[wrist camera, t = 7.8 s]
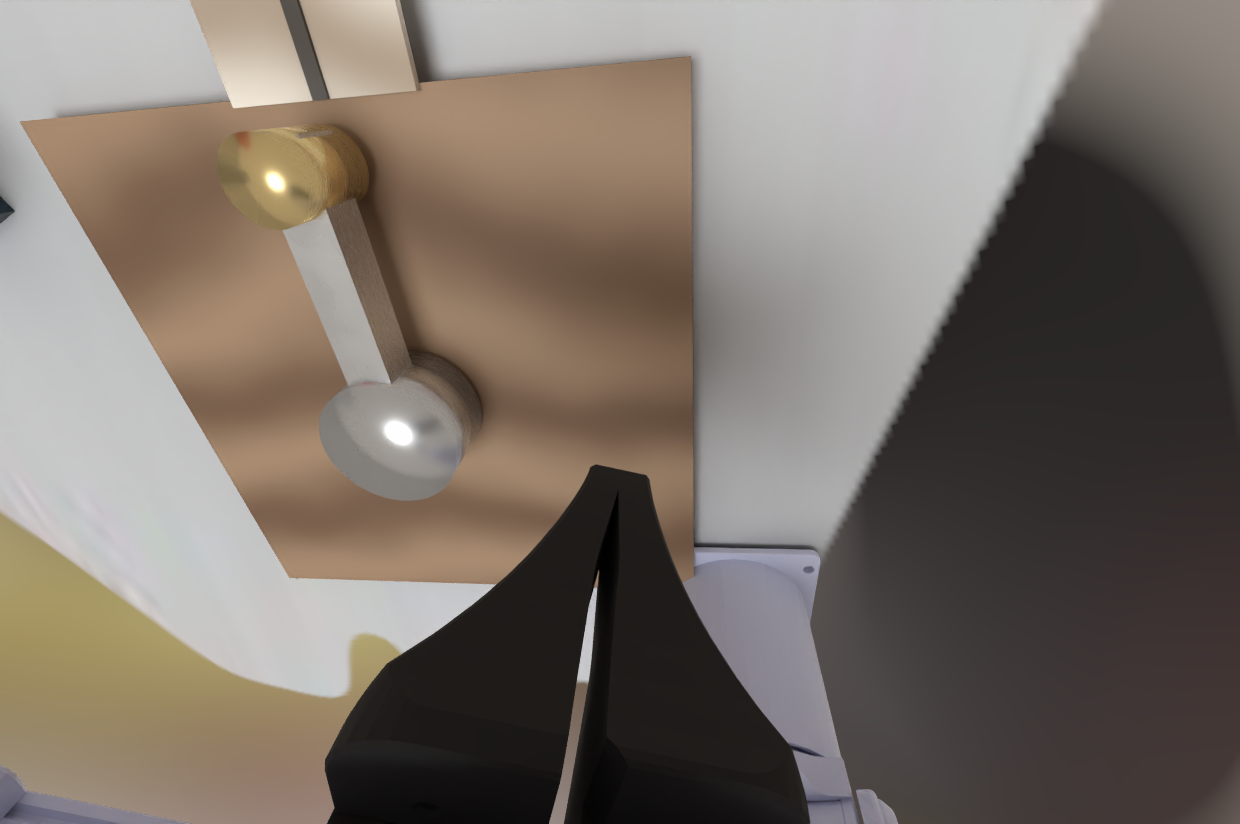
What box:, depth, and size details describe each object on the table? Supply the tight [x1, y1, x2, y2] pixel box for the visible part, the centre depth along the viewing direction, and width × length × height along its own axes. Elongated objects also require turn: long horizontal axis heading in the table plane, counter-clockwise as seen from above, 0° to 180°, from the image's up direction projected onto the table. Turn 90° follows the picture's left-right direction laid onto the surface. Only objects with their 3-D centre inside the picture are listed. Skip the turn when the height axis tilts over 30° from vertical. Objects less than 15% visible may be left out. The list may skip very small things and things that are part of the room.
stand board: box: [20, 0, 694, 587], centre depth 21 cm, size 25×22×2 cm
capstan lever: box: [216, 124, 482, 501], centre depth 18 cm, size 13×5×4 cm, turn 6°
